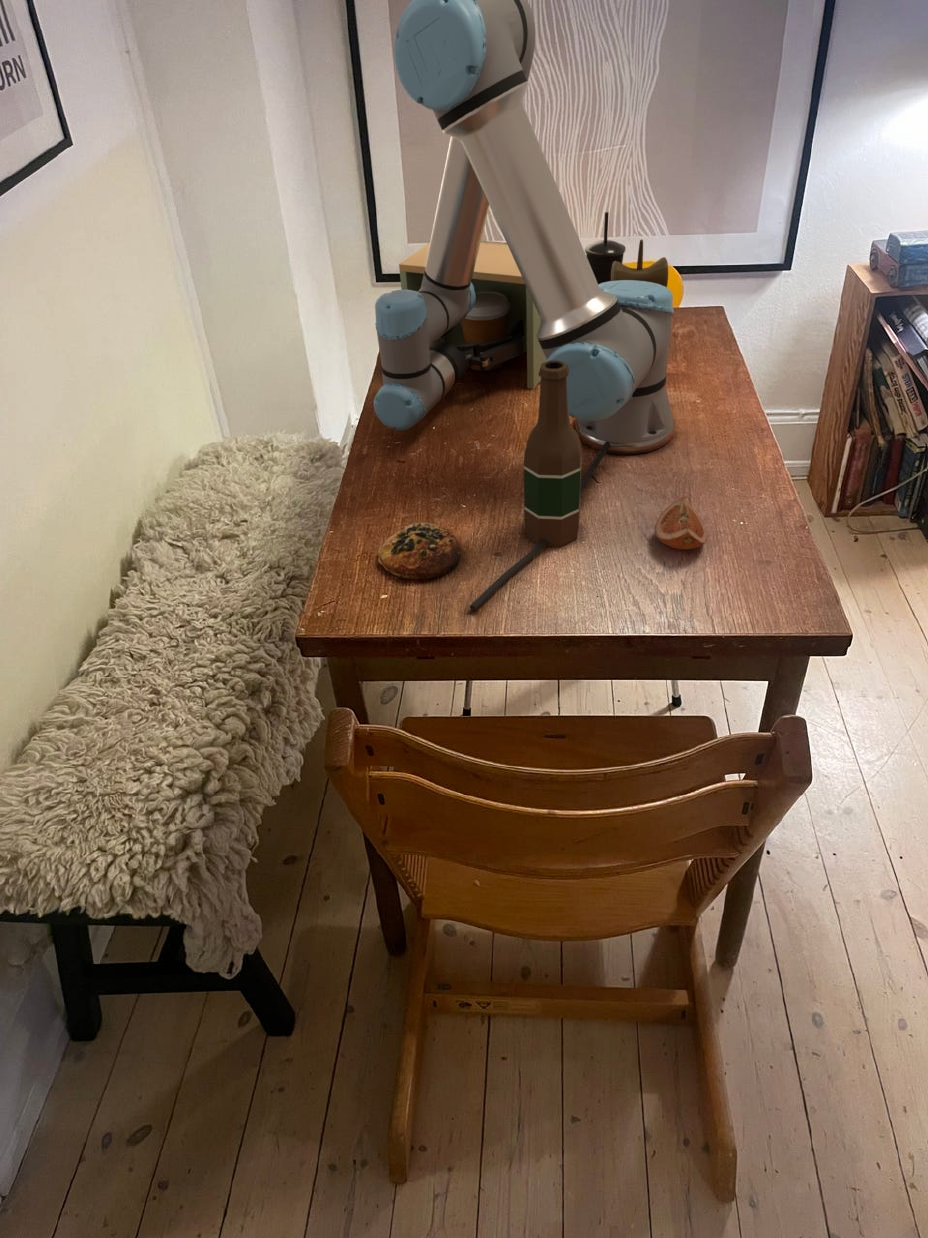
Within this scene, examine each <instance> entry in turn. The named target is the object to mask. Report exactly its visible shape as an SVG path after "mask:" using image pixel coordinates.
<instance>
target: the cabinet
mask: <svg viewBox="0 0 928 1238" xmlns="http://www.w3.org/2000/svg"><path fill="white" fill-rule="evenodd" d="M429 245H430V242H429V243H427V244H426V245H424V246H423V247H422V248H420V249H418V250H417V251H416V252H414V253H413V254H412V255H410V256H408V257H407V258H406V259H404V260H403V261H401V262H400V263H399V264H398V267H399V277H400V279H399V280H400V290H412V291H416V292H418V291H419V290H420V288H421V285H422V280H423V276H424V271H425V266H426V261H427V255H428V250H429ZM471 282H472V284H473V286H474V291H483V290H489V291H497V292H501V293H503V294H505V295H506V296H507V299H508V302H509V303H510V308H509V311H508V313H507V324H506V333H507V332H508V331H509V330H510V329H511V328H512V327H513V326H514V325H515V324H516V323H517V322H518V321H519V320H524V335H523V337H522V339H523V353H526V373H527V374H526V383H527V385H526V387H527V388H526V389H530V390H534V389H535V388H536V387H537V386H538V385H539V384H540V383H541V377H540V376H539V371H540V367H541V364H542V363H544V362H546V360H547V359H546V357H545V354H544V352H543V350H542V348H541V345H540V343H539V341H538V339H537V333H538V330H539V327H540V324H541V318H540V316H539V313H538V311H537V309H536V307H535V304H534V302H533V300H532V298H531V296H530V293H529V291H528V289H527V287H526V284H525V282H524V280H523V278H522V276H521V273H520V271H519V269H518V267H517V265H516V262H515V260H514V258H513V256H512V253H511V251H510V249H509V247H508V245H507V242H501V241H489V240H481V244H480V248H479V252H478V256H477V260H476V264H475V268H474V272H473V277H472V281H471ZM505 337H506V334H505ZM443 338H444V340H445V341H446V342H448V343H456V344H461V343H462V344H465V342H464V337H463V331H462V325H461V322H460V323H458V324H457V325H455V327H454V328H453V329H452V330H451V331H449V332H448V333H447V334H446V335H445V336H444V337H443Z"/></svg>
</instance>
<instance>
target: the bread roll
mask: <svg viewBox="0 0 928 1238" xmlns="http://www.w3.org/2000/svg"><path fill="white" fill-rule="evenodd" d="M377 554H378V559H377V560H378V563H379V564H380V565H381V566H382V567H383V568H384V569H385V570H386V571H387V572H388V573H389V574H392V575H394V576H396V577H398V578H400V579H403V580H404V579H406V580H407V579H408V580H424V579H425V580H427V579H430V578H437V577H439V576H444V575H448V574H450V573H451V572H453V571H454V570H456V568H457V567H458V565H459V562H460V560H461V556H462V548H461V544H460V542H459V540H458V539H457V537H456V536H455V535H454V533H453V532H452V531H451V530H450V529H449V528H447V527H445V526H442V525H438V524H436V523H435V524H434V523H432V522H414V523H411V524H408V525H404V526H401V529H400V530H399V531H397V532H395V533H394V534H392V535H391V536H389V537H388V538H386V540H385V541H384V542H383V544H382V545H381V547H379V549H378V551H377Z"/></svg>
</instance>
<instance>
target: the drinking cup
mask: <svg viewBox="0 0 928 1238" xmlns="http://www.w3.org/2000/svg"><path fill="white" fill-rule="evenodd" d="M603 224H604V225H603V226H604V227H603V239H601V240H596V241H594V242H592V243H590V244H588V245H586V246H585V247H584V252H585V254H586V257H587V259H588V261H589V264H590V266H591V269H592V271H593V273H594V276H595V278H596V281H597V283H598V285H599V284H601V283H604V282H609V281H611V268H612V264H613V262H614V261H617V262H620V263H621V264H623V262H624V254H625V253H626V249H627V248H626V246H625V245H624V244H623V243H620V242H617V241H615V240H612V239H611V240H610V239H608V236H609V211H605V212H604V223H603Z"/></svg>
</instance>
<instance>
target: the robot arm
mask: <svg viewBox="0 0 928 1238" xmlns="http://www.w3.org/2000/svg"><path fill="white" fill-rule="evenodd" d="M536 32H537V31H536V22H535V17H534V14H533V11H532V8H531V6H530V3H529V2H528V0H412V1H411V2H410V3H409V4H408V5H407V7H406V8H405V9H404V11H403V12H402V14H401V16H400V19H399V21H398V24H397V28H396V32H395V38H394V41H393V42H394V43H393V56H394V65H395V68H396V72H397V75H398V79H399V81H400V83H401V85H402V87H403V89H404V91H405V93H407V94H408V96H409V97H410V98H411V99H412V100H413V101H414V102H415V103H416V104H418V105H419V104H420V105H421V106H422V107H425V108H426V109H428V110H431V111H432V112H433V114H434V116H435V118H436V121H437V123H438V125H439V127H440V129H441V131H442V133H443V135H446V136H449V137H450V139H449V144H448V149H447V153H446V154H447V155H446V160H445V165H444V170H443V175H442V178H441V179H442V180H441V185H440V189H439V195H438V201H437V204H436V210H435V215H434V221H433V226H432V230H431V236H430V240H429V243H430V245H429V250H428V255H427V261H426V266H425V271H424V276H423V280H422V285H421V288H420V290H419V291H418V292H416V291H412V290H401V289H396V290H391V292H385V293H383V294H381V295H380V296H379V297H378V298H377V299H376V301H375V303H374V312H375V331H376V335H377V343H378V351H379V357H380V364H381V376H382V385H381V386H380V387H379V390H377V392H376V394H375V396H374V399H373V410H374V412H375V415H376V417H377V418H378V420H379V421H380V422H381V423H382V425H384V426H386V427H387V428H388V429H391V430H395V431H397V432H399V431H400V432H401V431H402V432H404V431H407V430H410V429H411V428H413V427H414V426H416V424H418V423H419V422H421V421H422V420H423V419H424V418H425V417H426V415H427V414H428V413H429V412H430V411H431V410H432V409H433V408H434V407H435V406H436V404H437V403H439V401H440V400H442V398H444V396H446V395H447V393H449V392H450V390H452V389H453V388H454V387H455V386H456V385H457V384H458V383H459V382H460V381H461V380H462V378H463V377H464V375H465V373H466V371H467V369H469V368H470V367H472V366H473V365H478V366H480V370H481V371H480V372H487V371H486V370H488V369H489V368H490V367H492V366H494V365H496V364H499V363H501V362H503V363H504V362H506V361H509V360H511V359H514V358H516V357H519V356H521V355H524V352H523V339H522V337H523V335H524V320H519V321H518V322H517V323H516V324H515V325H514V326H513V327H512V328H511V329H510V330H509V331H508V332H507V333H506V337H503V338H499V339H495V340H491V341H487V342H483V343H477V342H471V343H467V344H462V343H461V344H458V343H450V342H446V341H445V340H444V338H443V337H444V336H445V335H446V334H447V333H448V332H449V331H451V330H452V329H453V328H454V327H455V325H457V324H458V323H460V322H461V321H462V320H464V319H465V317H466V316H467V314H468V313H469V312H470V311H471V310H472V308H473V306H474V304H475V299H476V295H475V291H474V286H473V284H472V282H471V281H472V277H473V272H474V268H475V264H476V260H477V256H478V252H479V248H480V244H481V241H482V240H483V235H484V231H485V228H486V227H485V226H486V222H487V218H488V214H489V211H490V209H491V211H492V213H493V216H494V218H495V220H496V222H497V224H498V227H499V229H500V231H501V233H502V236H503V238H504V240H505V243H507V245H508V247H509V249H510V251H511V253H512V256H513V258H514V260H515V262H516V265H517V267H518V269H519V271H520V273H521V276H522V278H523V280H524V282H525V284H526V287H527V289H528V291H529V293H530V296H531V298H532V300H533V302H534V304H535V307H536V309H537V311H538V313H539V316H540V318H541V324H540V327H539V330H538V333H537V339H538V341H539V343H540V345H541V348H542V350H543V352H544V354H545V357H546V359H547V360H546V362H547V361H550V360H553V361H562V362H564V363H566V364H567V365H568V369H569V374H568V376H567V400H568V415H569V417H572V418H574V419H575V431H576V432H577V434H578V436H579V439H580V442H581V443H583V444H584V445H586V446H588V447H589V448H592V449H594V450H596V451H599V452H598V453H597V454H596V456H595V457H594V459H593V461H592V463H591V464H590V466H589V467H588V469H587V470H586V471H585V474H584V475H583V477H581V494H582V492H583V491H584V489H585V487H586V486H587V484H588V483H589V481H590V479H591V478H592V476H593V474H594V473H595V471H596V469H597V467H598V466H599V464H600V463H601V461H602V460H603V458H604V457H605V455H606V454H607V453H608V454H616V455H618V454H619V455H636V454H642V453H643V454H644V453H647V452H648V453H649V452H652V451H654V450H658V449H660V448H661V447H664V446H665V445H666V444H668V443H669V442H670V441H671V439H672V438H673V435H674V430H675V429H674V427H675V418H674V414H673V410H672V406H671V402H670V398H669V395H668V391H667V385H666V384H667V374H668V364H669V353H670V343H671V332H672V322H673V314H674V313H675V312H674V296H673V292H672V291H671V289H669V288H668V286H667V287H665V286H662V285H660V284H656V283H652V282H646V281H636V280H618V281H609V282H604V283H601V284H599V285H598V283H597V281H596V278H595V276H594V273H593V271H592V269H591V266H590V264H589V261H588V259H587V257H586V253H585V248H584V247H583V245H582V241H581V240H580V238H579V235H578V233H577V230H576V228H575V226H574V224H573V221H572V218H571V216H570V213H569V212H568V208H567V206H566V204H565V202H564V199H563V197H562V195H561V192H560V190H559V187H558V185H557V182H556V179H555V178H554V175H553V173H552V171H551V168H550V165H549V163H548V161H547V158H546V156H545V154H544V152H543V149H542V146H541V144H540V141H539V140H538V137H537V134H536V132H535V129H534V127H533V125H532V122H531V120H530V117H529V115H528V113H527V111H526V108H525V98H526V94H527V92H528V91H527V90H528V88H529V78H530V74H531V69H532V65H533V60H534V55H535V47H536ZM471 348H473V353H474V354H473V353H472V351H471ZM547 544H548V542H547V541H546V540H542V541H541V542H539V543H538V544H536V545H535V546H534V547H532V549H531V550H530V551H529V552H527V553H526V555H525V556H523V557H522V558H521V559H519V560H518V561H517V562H515V564H513V565H512V566H511V567H510V568H509V569H507V570H506V571H505V572H503V574H502V575H501V576H499V577H498V578H497V579H496V580H495V581H493V583H492V584H490V585H489V587H488V588H487V589H486V590H485V591H483V592H482V593H481V595H479V596H478V597H477V598H476V599H475V601H473V602H472V603H471V604H470V605H469V610H471V611H472V612H476V611H477V610H478V609H480V607H481V606H482V605H484V604H485V603H486V601H487V600H488V599H490V597H491V596H492V595H494V594H495V592H497V590H499V589H500V588H501V587H502V586H503V585H504V584H505V583H506V582H507V581H508V580H510V579H511V578H512V577H513V576H514V575H515V574H516V573H518V572H519V571H520V570H521V569H522V568H524V567H525V566H526V565H527V564H528V563H530V562H531V561H532V560H533V559H534V558H535V557H536V556H537V555H538V554H540V553H541V552H542V551H543V550H544V548H546V547H547V546H546V545H547Z"/></svg>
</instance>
